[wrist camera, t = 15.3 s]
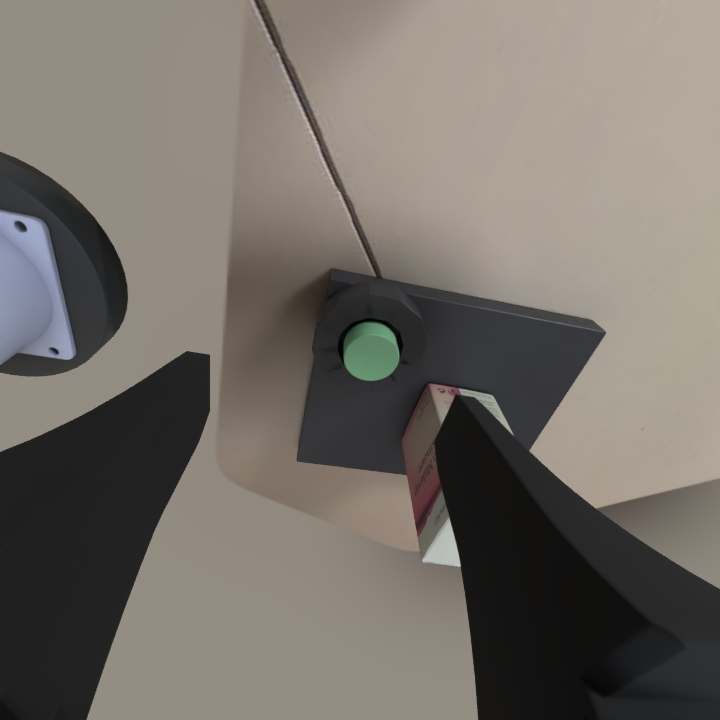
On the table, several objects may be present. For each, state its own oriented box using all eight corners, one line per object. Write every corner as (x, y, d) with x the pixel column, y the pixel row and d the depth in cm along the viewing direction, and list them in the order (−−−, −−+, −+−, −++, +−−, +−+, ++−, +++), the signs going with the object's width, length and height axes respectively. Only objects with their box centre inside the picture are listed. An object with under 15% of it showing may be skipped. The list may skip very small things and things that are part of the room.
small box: (426, 379, 21) (462, 498, 15) (494, 393, 22) (558, 513, 15) (398, 441, 24) (418, 565, 17) (460, 452, 25) (502, 575, 18)
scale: (294, 445, 26) (289, 481, 23) (326, 262, 19) (323, 284, 16) (498, 472, 28) (513, 507, 25) (595, 316, 21) (629, 343, 18)
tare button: (339, 361, 19) (338, 376, 18) (349, 315, 18) (349, 330, 16) (388, 369, 19) (391, 385, 18) (402, 325, 18) (406, 340, 17)
